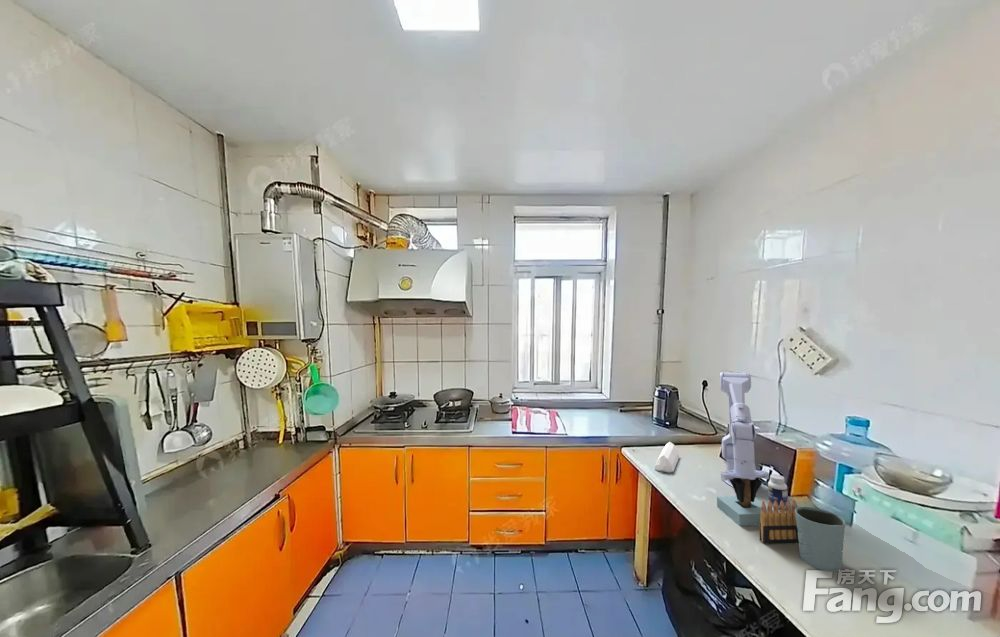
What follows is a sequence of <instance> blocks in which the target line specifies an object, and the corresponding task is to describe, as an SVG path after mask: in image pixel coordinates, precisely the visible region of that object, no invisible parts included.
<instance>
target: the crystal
mask: <svg viewBox="0 0 1000 637" xmlns="http://www.w3.org/2000/svg"><path fill="white" fill-rule="evenodd" d="M679 458H680V453H679V451H678V448H677V447H676V445H675V444H674V443H672V442H671V441H669V442H667V443H666V444H665V446H664V447H663V448H662V450H661V453H660V454H659V456H658V458H657V460H656V462H655V465H654V470H656V471H658V472H665V473H673V472H674V471H675V469H676V466H677V464H678V461H679Z"/></svg>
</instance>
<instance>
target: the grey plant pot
mask: <svg viewBox="0 0 1000 637" xmlns="http://www.w3.org/2000/svg"><path fill="white" fill-rule="evenodd" d="M795 516H796V523H797V528H798V540H799V544H798V550H799V551H798V552H799V557H800V559H801V560H802V561H803V563H805V564H807V565H808V566H810V567H813V568H815V569H817V570H821V571H825V572H840V571H841V570H842V567H843V559H844V558H843V557H844V555H843V551H844V542H845V541H844V539H845V529H846V521H845V520H844V518H843V517H842V516H839V515H838V514H836V513H834V512H832V511H829V510H826V509H821V508H818V507H811V506H800V507H799V506H797V508H796V509H795ZM839 570H840V571H839Z"/></svg>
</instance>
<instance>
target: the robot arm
mask: <svg viewBox="0 0 1000 637" xmlns="http://www.w3.org/2000/svg"><path fill="white" fill-rule="evenodd" d="M719 387H720V391H721V392H723V393H726V396H727V401H728V403H727V404H728V427H729V428H728V430H729V433H728V434H726V435H725V436H723V437H722V438H721V455H722V458H723V459H724V460H725V466H726V471H721V472H720V478H721V480H722V481H723V482H724V483H726V484H727V485H729V486H730V487H732V488H733V491H734V492H735V493H734V494H735V496H737V500H738V501H740V502H743V501H744V487H745V483H743V482H742V480H741V479H749V480H750V485H751V502H754V500H755V498H756V497H757V496H756V495H757V493H758V490H759V489H760V487H761V486H762V485H763V483H762V482H763V481H762V480H760V479H766V480H770V475H769V472H767V470H757V467H756V464H755V441H756V437H757V436H756V435H757V432H756V427H755V423H754V422H753V420H754V419H753V420H752V416H751V410H750V409H751V408H750V407H749V406H748V405H747V404H746V403H745V396H746V395H745V394H747V393H749V391H750V390H751V388H752V377H751V374H750V373H749V372H723V371H721V372H720V373H719Z"/></svg>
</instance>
